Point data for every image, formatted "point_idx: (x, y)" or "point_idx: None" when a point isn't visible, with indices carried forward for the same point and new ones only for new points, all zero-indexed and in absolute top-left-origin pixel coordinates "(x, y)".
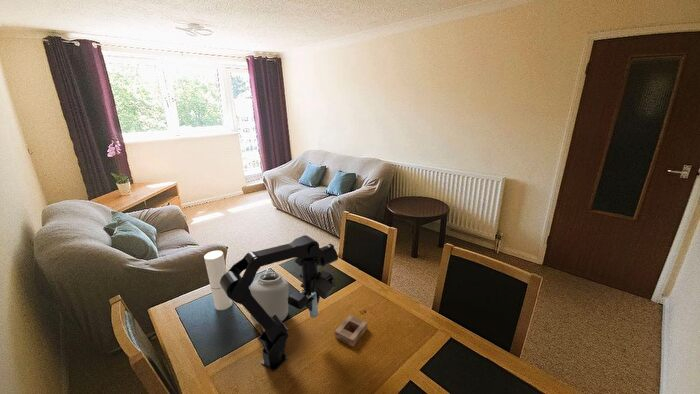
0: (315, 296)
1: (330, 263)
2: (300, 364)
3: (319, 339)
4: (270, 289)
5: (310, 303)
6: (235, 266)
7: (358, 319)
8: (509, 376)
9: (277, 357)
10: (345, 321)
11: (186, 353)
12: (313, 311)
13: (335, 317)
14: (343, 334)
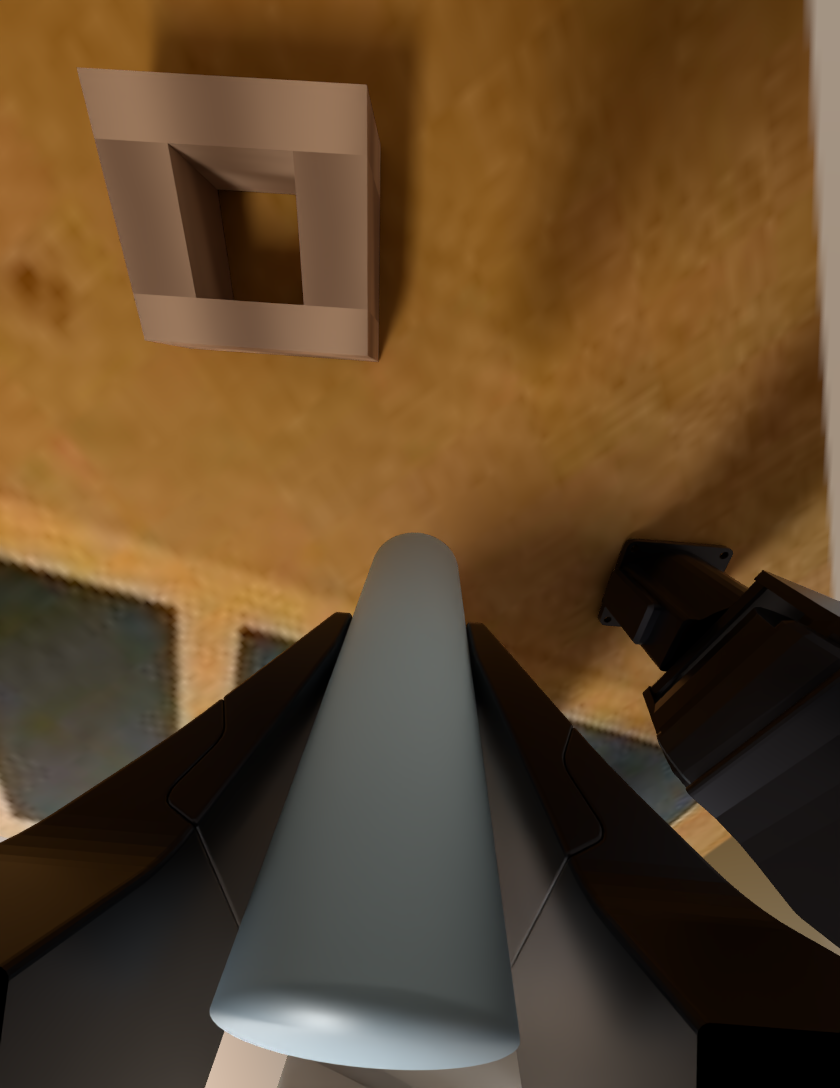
0: (379, 923)
1: None
2: (649, 447)
3: (441, 454)
4: (499, 1083)
5: (610, 801)
6: None
7: (121, 210)
8: None
9: (730, 577)
10: (228, 330)
11: (694, 831)
12: (456, 596)
13: (238, 465)
14: (356, 252)
